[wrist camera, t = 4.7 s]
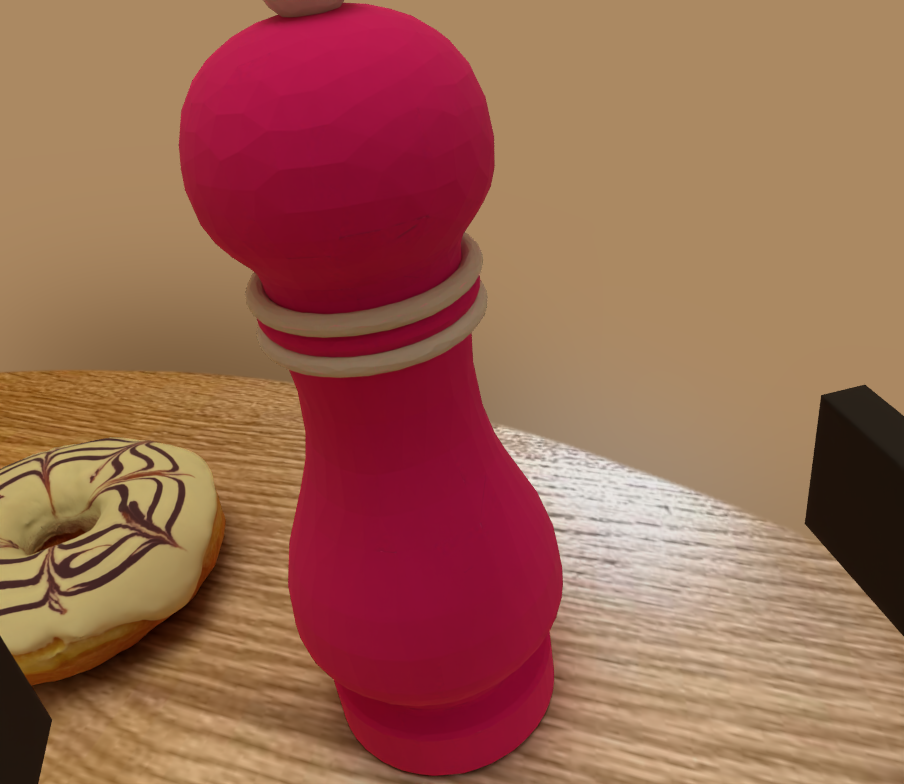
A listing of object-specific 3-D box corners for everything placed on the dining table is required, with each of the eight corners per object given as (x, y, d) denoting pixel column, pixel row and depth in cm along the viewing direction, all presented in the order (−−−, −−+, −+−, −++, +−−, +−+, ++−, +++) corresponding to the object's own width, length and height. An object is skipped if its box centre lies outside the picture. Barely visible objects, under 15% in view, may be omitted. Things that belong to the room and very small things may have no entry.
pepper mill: (404, 853, 21) (136, -51, 10) (288, 666, 26) (31, -54, 15) (624, 696, 24) (598, -136, 13) (479, 557, 29) (374, -114, 18)
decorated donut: (259, 635, 28) (227, 550, 25) (-98, 768, 25) (-165, 686, 23) (215, 462, 36) (188, 387, 34) (-56, 548, 33) (-102, 474, 31)
